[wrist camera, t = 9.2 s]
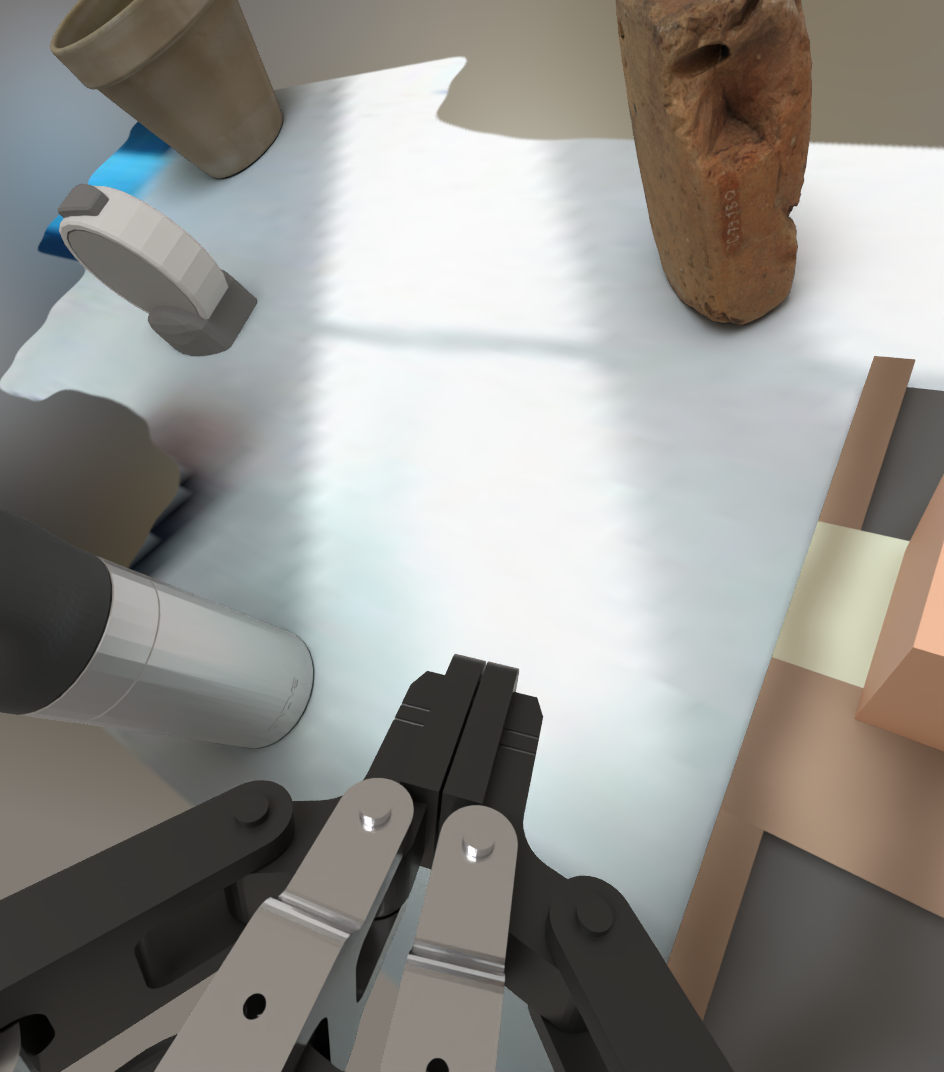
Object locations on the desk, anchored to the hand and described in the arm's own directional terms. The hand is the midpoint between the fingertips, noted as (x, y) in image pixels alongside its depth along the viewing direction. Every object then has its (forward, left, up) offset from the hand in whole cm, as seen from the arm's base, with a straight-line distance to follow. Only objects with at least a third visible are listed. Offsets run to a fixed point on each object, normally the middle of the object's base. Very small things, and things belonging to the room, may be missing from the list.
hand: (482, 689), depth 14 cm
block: (-7, +35, -25) cm, 43 cm away
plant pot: (-86, +58, -25) cm, 106 cm away
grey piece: (-66, +26, -25) cm, 75 cm away
